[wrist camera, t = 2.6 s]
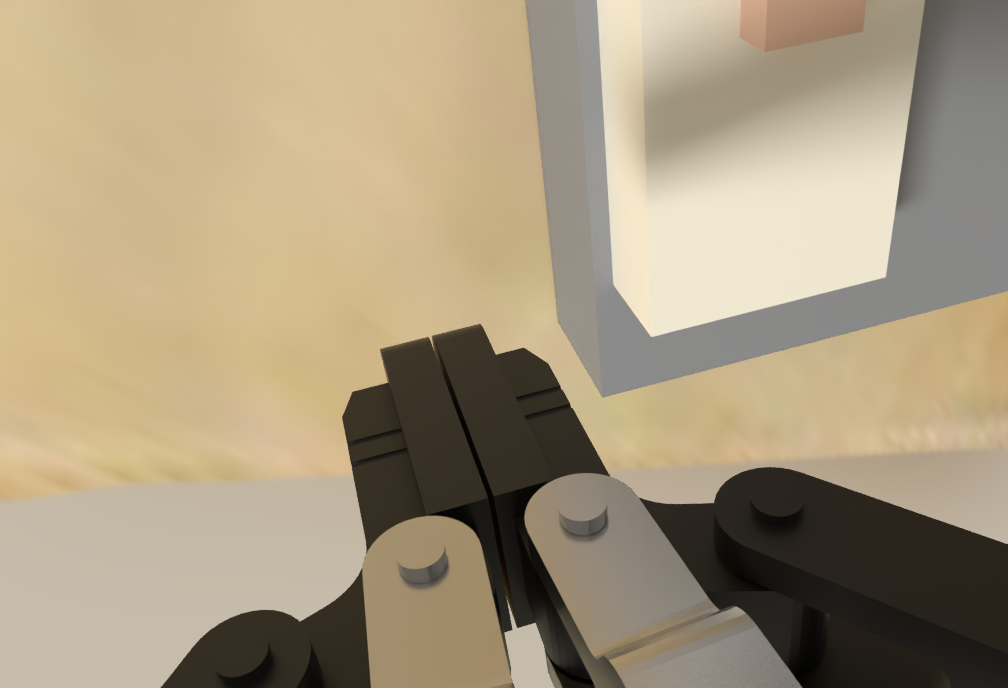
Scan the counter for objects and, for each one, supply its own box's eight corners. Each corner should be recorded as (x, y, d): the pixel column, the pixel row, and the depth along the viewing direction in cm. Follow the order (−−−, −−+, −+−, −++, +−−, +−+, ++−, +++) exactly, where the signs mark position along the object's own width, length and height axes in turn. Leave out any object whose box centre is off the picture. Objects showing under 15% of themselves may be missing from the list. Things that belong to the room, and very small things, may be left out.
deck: (494, -310, 19) (550, -319, 16) (1077, -393, 21) (1233, -418, 18) (558, 322, 28) (602, 397, 25) (961, 222, 30) (1050, 280, 27)
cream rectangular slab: (590, -104, 18) (660, -74, 15) (866, -154, 19) (981, -135, 16) (613, 285, 23) (669, 360, 20) (829, 232, 24) (911, 298, 21)
